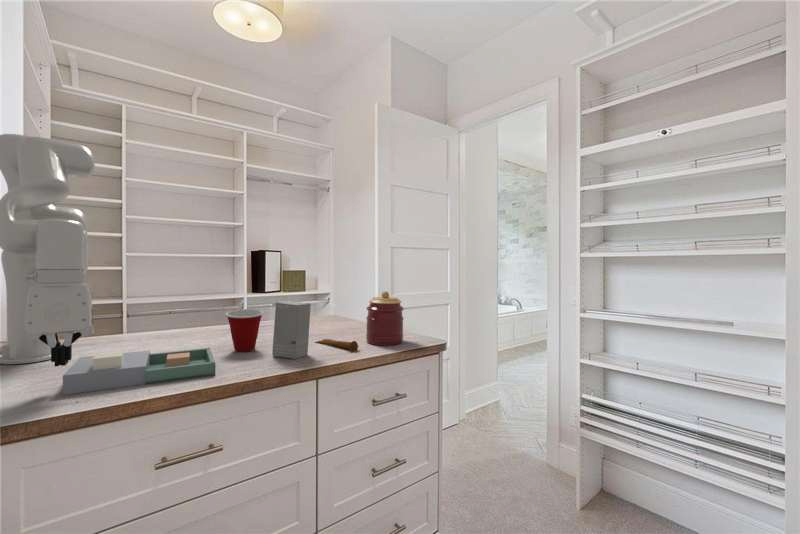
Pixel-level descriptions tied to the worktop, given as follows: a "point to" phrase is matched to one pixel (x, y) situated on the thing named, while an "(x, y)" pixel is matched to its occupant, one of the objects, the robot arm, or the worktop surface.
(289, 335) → the skincare box
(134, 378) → the grey board
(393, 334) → the canister
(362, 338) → the worktop surface
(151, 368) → the tray
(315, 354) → the worktop surface
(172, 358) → the tile terracotta
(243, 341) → the plastic cup
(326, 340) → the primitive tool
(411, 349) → the worktop surface
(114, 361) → the tile cream
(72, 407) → the worktop surface
